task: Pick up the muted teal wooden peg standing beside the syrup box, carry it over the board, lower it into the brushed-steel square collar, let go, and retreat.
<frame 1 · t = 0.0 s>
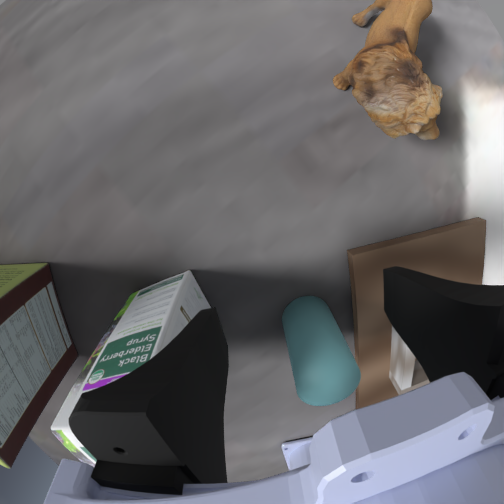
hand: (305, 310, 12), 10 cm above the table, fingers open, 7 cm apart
socket board: (419, 329, 25), on the table
protein box: (15, 308, 23), on the table
peg: (306, 317, 24), on the table
syrup box: (177, 309, 23), on the table
lion figurine: (371, 61, 17), on the table
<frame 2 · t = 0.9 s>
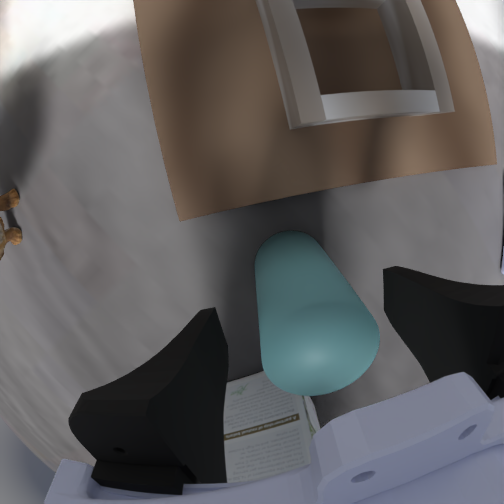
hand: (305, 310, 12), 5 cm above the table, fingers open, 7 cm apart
socket board: (338, 57, 13), on the table
peg: (290, 265, 17), on the table
syrup box: (270, 394, 20), on the table
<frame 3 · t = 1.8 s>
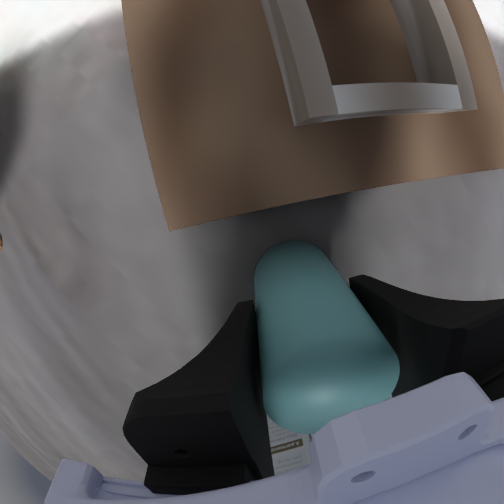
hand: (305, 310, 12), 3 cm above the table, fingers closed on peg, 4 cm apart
socket board: (347, 47, 11), on the table
peg: (293, 278, 15), on the table, touching gripper
syrup box: (270, 412, 18), on the table
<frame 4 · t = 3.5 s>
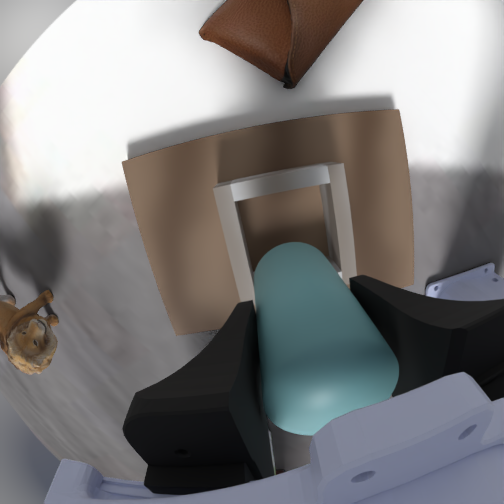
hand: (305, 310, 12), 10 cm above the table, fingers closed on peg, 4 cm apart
socket board: (282, 222, 21), on the table
peg: (293, 280, 15), point 7 cm above the table, touching gripper
lion figurine: (32, 292, 23), on the table
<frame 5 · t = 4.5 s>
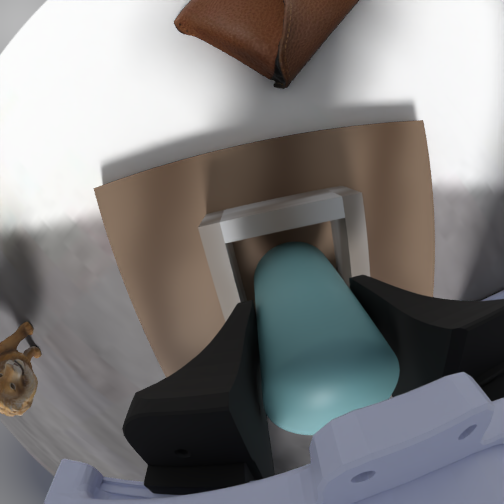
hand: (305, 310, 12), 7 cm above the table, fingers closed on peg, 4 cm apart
socket board: (285, 256, 18), on the table
peg: (293, 279, 15), point 3 cm above the table, touching gripper
lion figurine: (12, 322, 20), on the table
when the fingers open (5 cm above the table, at t = 5.2 s): peg stays where it is, resting on socket board.
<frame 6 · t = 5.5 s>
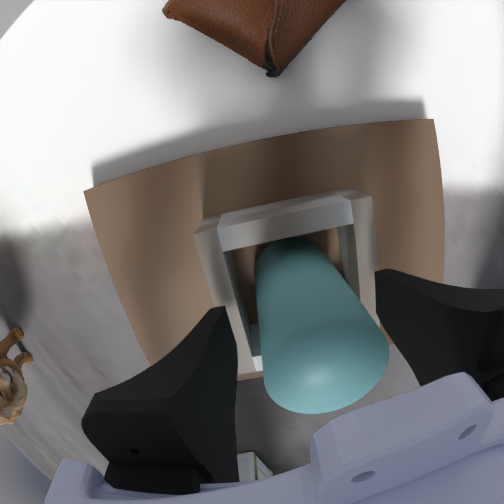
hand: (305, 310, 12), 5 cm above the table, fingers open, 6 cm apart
socket board: (287, 263, 17), on the table
peg: (291, 272, 16), point 1 cm above the table, touching socket board
syrup box: (239, 465, 24), on the table
lion figurine: (3, 327, 19), on the table
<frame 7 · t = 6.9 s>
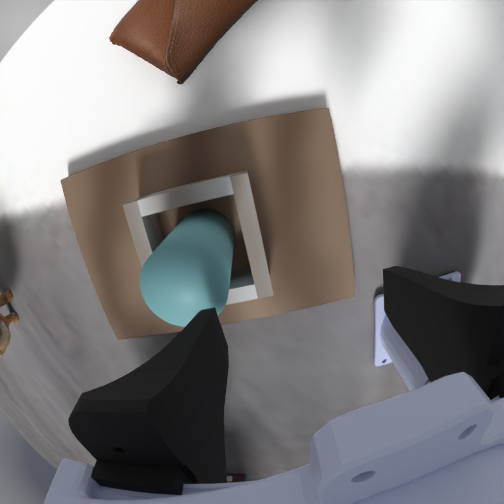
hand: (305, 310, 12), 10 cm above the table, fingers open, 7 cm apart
socket board: (206, 232, 21), on the table
peg: (205, 238, 20), point 1 cm above the table, touching socket board
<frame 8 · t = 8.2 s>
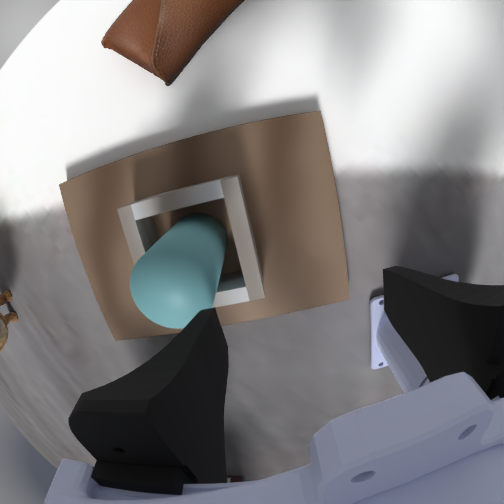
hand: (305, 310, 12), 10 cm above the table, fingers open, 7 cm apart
socket board: (200, 235, 22), on the table
peg: (199, 241, 20), point 1 cm above the table, touching socket board
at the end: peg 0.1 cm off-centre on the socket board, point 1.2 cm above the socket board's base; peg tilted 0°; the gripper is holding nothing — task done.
